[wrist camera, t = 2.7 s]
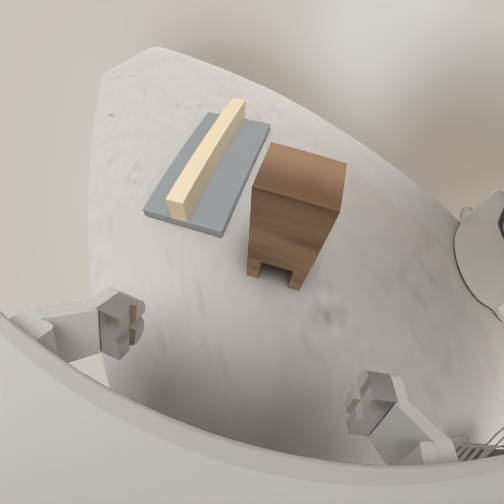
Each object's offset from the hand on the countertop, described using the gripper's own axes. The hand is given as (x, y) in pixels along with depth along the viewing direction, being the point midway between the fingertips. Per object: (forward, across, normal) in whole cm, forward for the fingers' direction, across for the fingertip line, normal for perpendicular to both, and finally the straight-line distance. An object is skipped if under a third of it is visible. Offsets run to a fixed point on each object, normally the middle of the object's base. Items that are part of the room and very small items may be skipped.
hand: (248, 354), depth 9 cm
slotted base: (+29, +12, -4) cm, 31 cm away
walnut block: (+21, 0, +4) cm, 21 cm away
